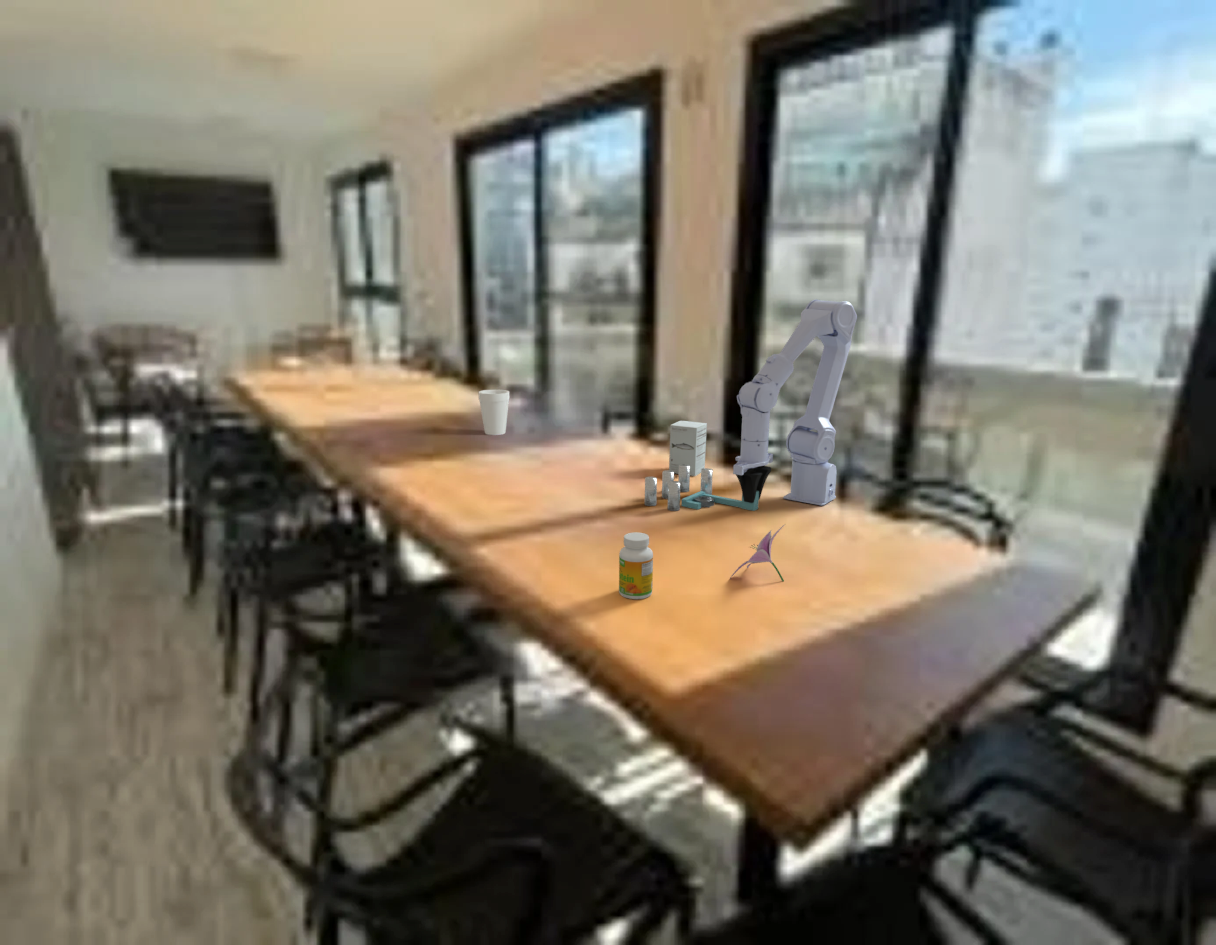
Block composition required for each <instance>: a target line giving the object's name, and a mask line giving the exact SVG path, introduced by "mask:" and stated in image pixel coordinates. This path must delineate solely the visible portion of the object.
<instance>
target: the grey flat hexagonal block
mask: <svg viewBox="0 0 1216 945" xmlns="http://www.w3.org/2000/svg"><path fill="white" fill-rule="evenodd" d="M693 501H694V502H699V503H701V508H712V507H713V506H715V502H714V499H713V498H711V497H709V496H698V497H696V498H693Z"/></svg>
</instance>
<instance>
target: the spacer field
mask: <svg viewBox="0 0 1216 945" xmlns="http://www.w3.org/2000/svg"><path fill="white" fill-rule="evenodd" d="M713 472H714V470H713V469H712V468H708V467H707V468H706V467H705V468H703V469H701V473H700V491H704V492H705V494H710V495H713ZM661 476H662V481H661V485H662V486H661V498H662V499H665V500H667V510H668V511H670V512H678V511H680V508H681V507H680V506H681V493H688V492H690V481H691V476H690V465H686V464H682V465H679V474H678V481H677V480H675V473H674V471H670V470H669V469H667V470H666V469H665V470H663V471H662V475H661ZM657 490H658V478H657V477H655V476H646V477H644V505H645V506H646V507H647V506H648V507H655V506H657V495H658V494H657V492H658V491H657Z"/></svg>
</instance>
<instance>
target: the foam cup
mask: <svg viewBox="0 0 1216 945" xmlns="http://www.w3.org/2000/svg"><path fill="white" fill-rule="evenodd" d="M510 398H511V397H510V390H505V389H499V388H498V389H483V390H480V391H478V400H479V406H480V412H481V419H482V423H483V431H484V434H485V435H487V436H499V435H501V436H502V435H504V434H506V431H507V424H508V423H507V421H508V413H509V412H508V411H509V402H510V401H509V400H510Z"/></svg>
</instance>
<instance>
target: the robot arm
mask: <svg viewBox="0 0 1216 945" xmlns="http://www.w3.org/2000/svg"><path fill="white" fill-rule="evenodd" d="M857 320H858V315H857V312H856V310H855V307H854V306H853V304H852V303H851V302H849V301H848V300H847V301H846V300H843V301H841V300H840V301H838V300H821V299H817V298H816V299H812V300H810V301H809V302H808V303H807V304H806V306H805V308H804V309H803V310H802V311H801V313H800V322H799V323H798V325H797V326H796V328H795V329H794V330H793V332H792V334H791V336H790V337H789V338H788V340H787V342H786V343H785V344H784V346H783V348H782V349H781V351H780V352H779V353H773V354H771V355H770V356H767V358H766V360H765V363H764V364H763V366H762V367H761V368H760V370H759V371H758V372H757V373H756V375H754V377H753V379H751V381H748V382H745V383H744V385H742V386H741V388H740V389H739V392H738V394H737V395H736V400H737V404H738V405H739V407H740V414H741V417H742V418H741V434H740V435H741V436H740V438H741V439H740V440H741V441H740V455H737V456H736V457H735V461H736V463H735V464H733V472H732V474H733V475H735V476H736V478H737V480H738V482H739V484H740V488H741V493H742V494H743V499H744V502H749V503H753V502H754V500H755V496H756V491H759V500H760V499H761V495H762V493H763V489H764V487H765V483H766V480H767V478H768V477H769V475H770V473H771V472H772V467H771V466H767V465H768V464H771V463H772V464H773V461H774V454H773V453H771V452H769V436H770V421H771V420H770V418H771V417H770V416H771V411H772V410H773V408H775V407H776V405H777V402H778V396H779V394H780V391H781V388H782V387H783V386H784V384H785V383H786V382H787V380H788V379H789V378H790V376H791V375H792V374H793V372H794V370H795V367H794V366H795V365H794V362H795V361H796V360H797V359H798V358H799V356H800V355H802V353H803V352H804V351H805V350H806V349H807V347H808V346H809V345H810V344H812V342H813V340H814V339H815V338H816V337H817V338H818V339H819V340H820V342H821V343H822V345H823V349H822V353H821V356H820V360H819V364H818V367H817V370H816V374H815V376H814V377H815V378H814V381H813V384H812V387H811V391H810V394H809V399H808V402H807V406H806V408H805V412H804V415H802V416H800V417H799V418H797V419H796V420H795V421H794V423H793V426H792V428H791V430H790V431H789V433H788V434H787V437H786V440H785V447H786V450H787V452H788V453H789V454H790V458H791V459H792V461H791V462H792V464H791V476H790V477H791V479H790V480H791V481H790V492H789V493H788V494H785V495H784V496H783V499H784V500H790V501H795V502H801V503H805V504H806V503H807V504H811V505H817V506H820V507H821V506H825V505H826V504H828V503H830V502H831V501H833V500H835V499H836V498H837V496H836V485H837V484H836V483H837V472H838V471H837V466H836V464H833V463H830V462H829V460H830V459H831V458H832V456H833V454H834V451H835V445H836V443H835V440H836V439H835V437H836V435H837V431H836V429H835V427H834V426H833V425H832V424H831V421H830V418H831V416H832V411H833V409H834V405H835V401H836V399H837V398H836V397H837V395H838V392H839V388H840V385H841V380H842V377H843V375H844V374H843V373H844V371H845V367H846V364H847V360H848V357H849V354H850V353H849V352H850V349H851V345H852V340H853V338H852V336H853V333H854V329H855V326H856V323H857ZM812 430H815V431H812ZM742 494H741V495H742Z"/></svg>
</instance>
